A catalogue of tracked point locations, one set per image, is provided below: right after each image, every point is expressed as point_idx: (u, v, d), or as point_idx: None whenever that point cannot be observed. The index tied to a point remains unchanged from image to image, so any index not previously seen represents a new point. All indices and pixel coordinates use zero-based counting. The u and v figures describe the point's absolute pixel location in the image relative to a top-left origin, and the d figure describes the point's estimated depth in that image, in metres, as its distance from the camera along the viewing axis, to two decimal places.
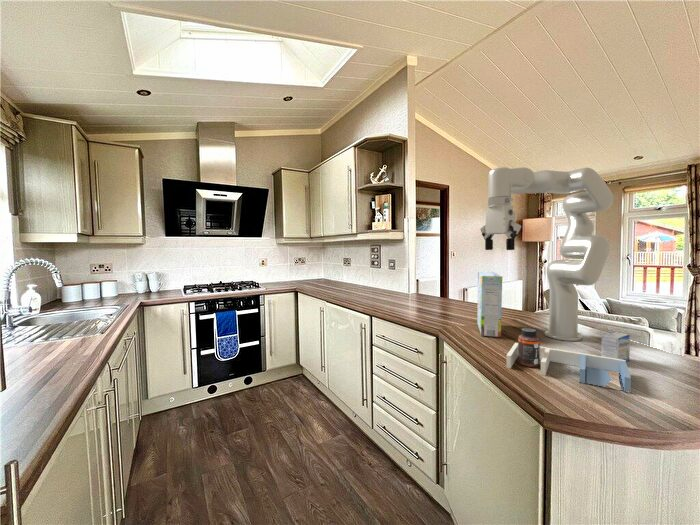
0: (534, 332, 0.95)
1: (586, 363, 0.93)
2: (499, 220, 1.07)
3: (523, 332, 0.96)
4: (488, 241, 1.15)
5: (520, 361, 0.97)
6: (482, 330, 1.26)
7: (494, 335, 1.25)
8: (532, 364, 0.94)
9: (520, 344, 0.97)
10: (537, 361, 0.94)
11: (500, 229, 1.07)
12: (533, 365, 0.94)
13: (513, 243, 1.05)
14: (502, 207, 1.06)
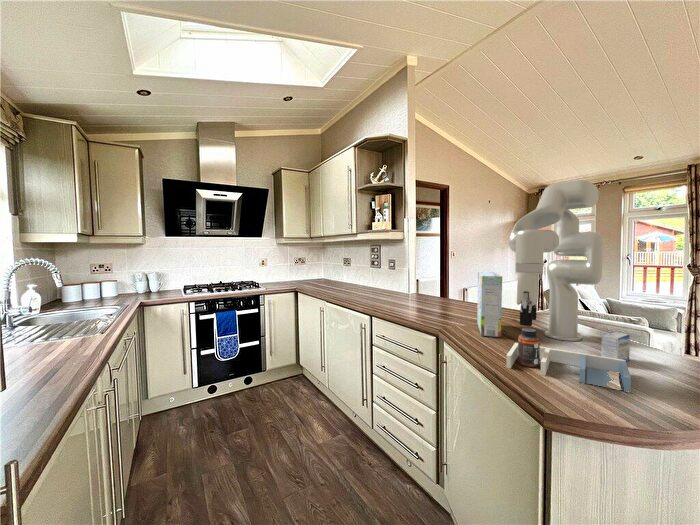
0: (534, 332, 0.95)
1: (586, 363, 0.93)
2: None
3: (523, 332, 0.96)
4: None
5: (520, 361, 0.97)
6: (482, 330, 1.26)
7: (494, 335, 1.25)
8: (532, 364, 0.94)
9: (520, 344, 0.97)
10: (537, 361, 0.94)
11: (537, 298, 0.96)
12: (533, 365, 0.94)
13: None
14: None
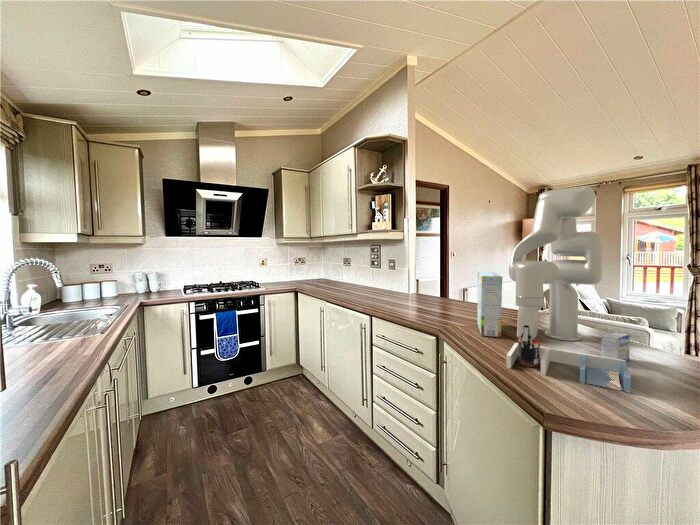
0: None
1: (586, 363, 0.93)
2: (538, 321, 0.97)
3: None
4: None
5: (520, 361, 0.97)
6: (482, 330, 1.26)
7: (494, 335, 1.25)
8: (532, 364, 0.94)
9: (520, 344, 0.97)
10: (537, 361, 0.94)
11: (537, 330, 0.97)
12: (533, 365, 0.94)
13: None
14: None
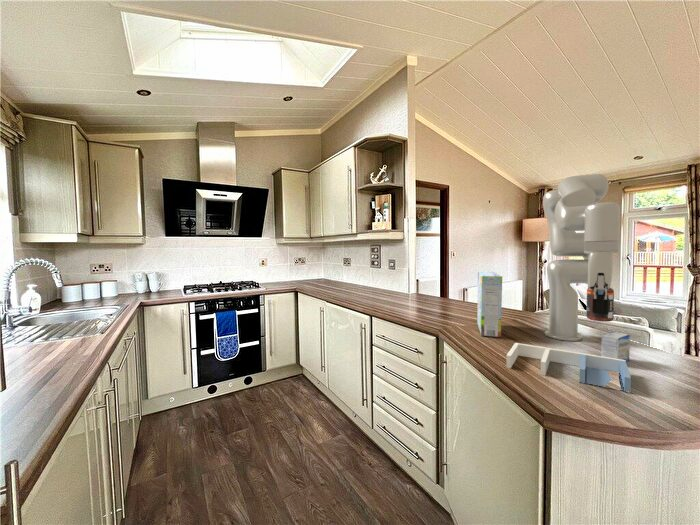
0: None
1: (586, 363, 0.93)
2: None
3: None
4: None
5: (590, 316, 0.85)
6: (482, 330, 1.26)
7: (494, 335, 1.25)
8: (606, 318, 0.83)
9: (590, 296, 0.85)
10: (611, 315, 0.83)
11: None
12: (607, 319, 0.83)
13: None
14: None
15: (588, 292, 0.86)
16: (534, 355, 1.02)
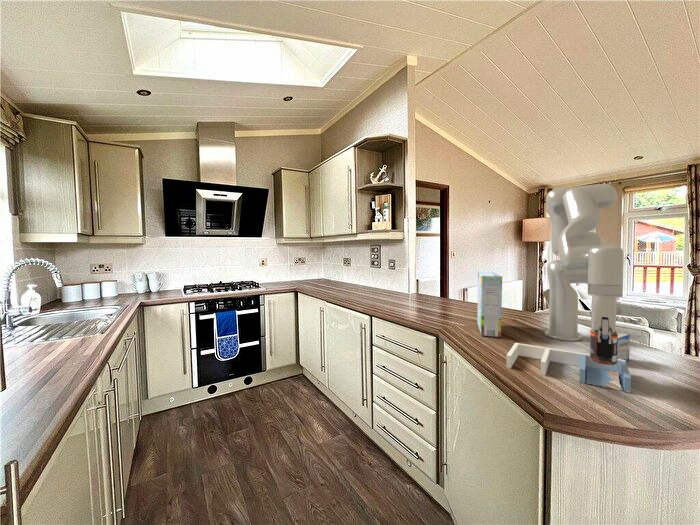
0: None
1: (586, 363, 0.93)
2: None
3: None
4: None
5: (594, 358, 0.85)
6: (482, 330, 1.26)
7: (494, 335, 1.25)
8: (610, 362, 0.83)
9: (594, 339, 0.85)
10: (615, 358, 0.83)
11: None
12: (611, 363, 0.83)
13: None
14: None
15: (592, 334, 0.86)
16: (534, 355, 1.02)
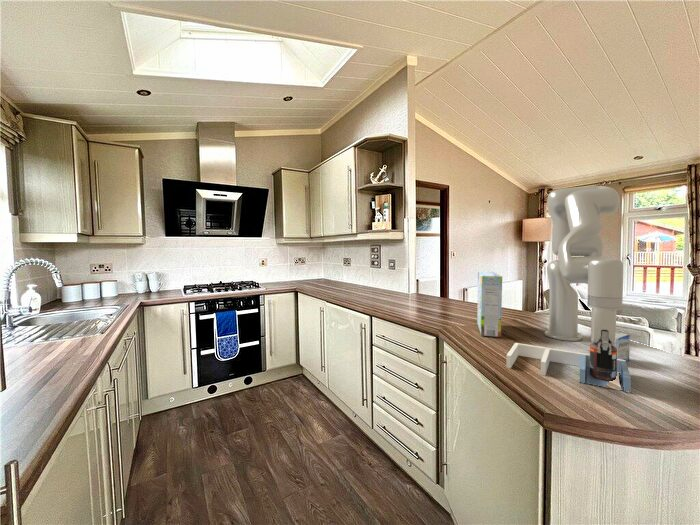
0: None
1: (586, 363, 0.93)
2: None
3: None
4: None
5: (593, 374, 0.86)
6: (482, 330, 1.26)
7: (494, 335, 1.25)
8: (609, 377, 0.83)
9: (594, 354, 0.85)
10: (615, 374, 0.83)
11: None
12: (610, 378, 0.83)
13: None
14: None
15: (591, 349, 0.86)
16: (534, 355, 1.02)
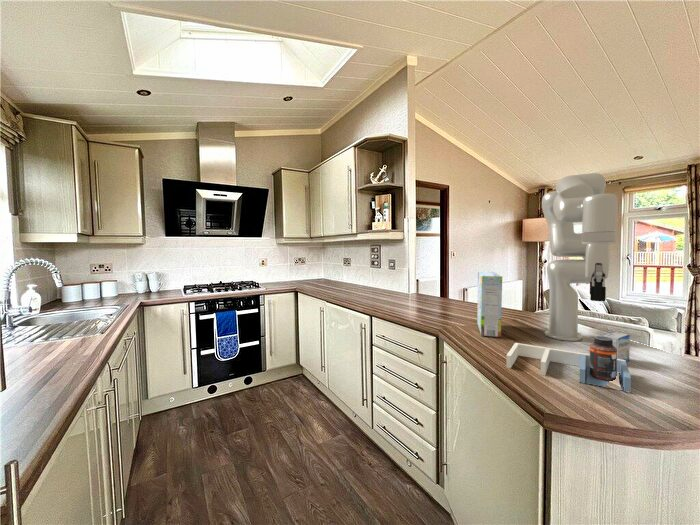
0: (611, 341, 0.84)
1: (586, 363, 0.93)
2: None
3: (597, 341, 0.85)
4: None
5: (593, 374, 0.86)
6: (482, 330, 1.26)
7: (494, 335, 1.25)
8: (609, 377, 0.83)
9: (594, 354, 0.85)
10: (615, 374, 0.83)
11: None
12: (610, 378, 0.83)
13: None
14: None
15: (591, 349, 0.86)
16: (534, 355, 1.02)
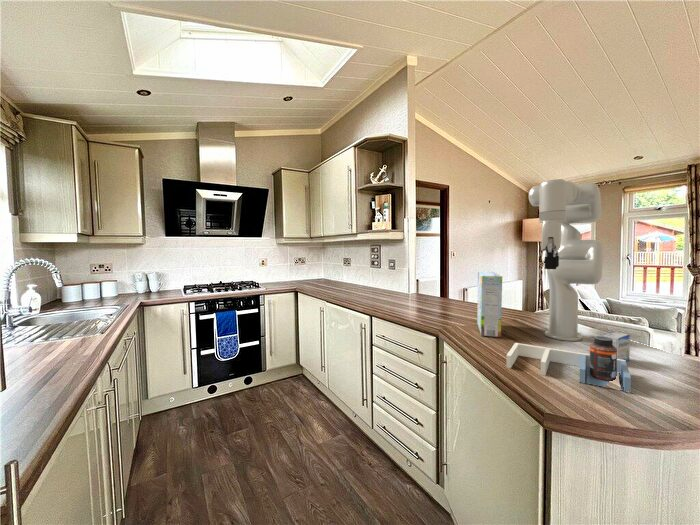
0: (611, 341, 0.84)
1: (586, 363, 0.93)
2: None
3: (597, 341, 0.85)
4: None
5: (593, 374, 0.86)
6: (482, 330, 1.26)
7: (494, 335, 1.25)
8: (609, 377, 0.83)
9: (594, 354, 0.85)
10: (615, 374, 0.83)
11: (560, 245, 1.03)
12: (610, 378, 0.83)
13: None
14: None
15: (591, 349, 0.86)
16: (534, 355, 1.02)
